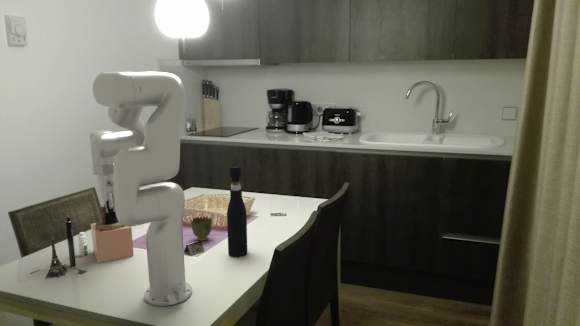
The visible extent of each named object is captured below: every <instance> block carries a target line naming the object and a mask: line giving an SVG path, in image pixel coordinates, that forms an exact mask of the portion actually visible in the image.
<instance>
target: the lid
mask: <svg viewBox="0 0 580 326" xmlns="http://www.w3.org/2000/svg"><path fill="white" fill-rule="evenodd" d="M107 207H108V206H107ZM105 213H106V210H105V207H104V206H100V215H101V216H100V217H101V220H99V221H96V222H95V223H96V229H98V230H101V231H103V230H114V229H118V228H121V227H123V225H122V224H120V222H119V221H118V219H117V217H116V223H114V224H108V225H107V224H106V220H105Z"/></svg>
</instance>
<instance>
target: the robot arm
mask: <svg viewBox="0 0 580 326" xmlns="http://www.w3.org/2000/svg"><path fill="white" fill-rule="evenodd" d="M92 94H93V97H94V100H95V102H96V103H97V104H99V105H101V106H104V107H108V110H107V113H108V115H107V116H108V118H109V119H110V121H111V122H112V123H113V124H114V125H116V126H118V127H120V128H124V129H125V130H121V131H119V130H118V131H113V130H109V129H99V130H98V129H97V130H93V131H92V132H91V133H90V134H89V144H90V153H91V154H90V155H91V162H92V165H91V166H92V172H93V175H95V176H97V186H98V195H99V199H100V201H101V203H102V205H103V206H102V207H105V210H106V213H105V220H106V224H107V225H108V224H114V223H116V217H117V219H118V221H119V222H120V224H122V225H123V226H127V227H131V228H132V227H136V226H141V225H145V224H149V226H148V228H147V230H146V235H145V242H146V243H145V245H146V256H147V257H146V258H147V268H148V269H147V270H148V282H149V287H148V288H147V289H145V291H144V293H143V297H144V301H145V302H146V303H148V304H149V305H152V306H156V307H158V306H160V307H165V306H166V307H167V306H172V305H177V304H179V303H182V302H184V301H186V300H187V299H188V298H190V296H191V295H192V293H193V288H192V286H191V284H190V283H188V282H187V281H186V268H185V267H186V266H185V249H184V230H183V229H184V228H183V225H184V224H183V222H184V211H185V204H186V203H185V202H186V196H185V192H184V190H183V188H182V187H181V185H179V184H178V183H175V182H172V181H167V180H170V179H172V178H175V177H176V176H177V175H178V173H179V169H180V163H181V159H180V158H181V157H180V156H181V127H182V122H183V117H184V113H185V110H186V105H187V104H186V103H187V96H186V95H187V93H186V89H185V86H184V83H183V81H182V80H181V78H180V77H179V76H177V75H176V74H174V73H170V72H164V71H103V72H100V73H99V74H97V75H96V77H95V79H94V81H93V84H92ZM145 107H157V108H155V110H154V111H153V112H152V113H151V115H150V116H149V117H148V120H147V122H146V124H145V122H144V120H143V119H142V117H141V115H142V112H143V110H144V108H145ZM161 181H162V182H161ZM145 184H146V185H145ZM107 206H108V207H107Z"/></svg>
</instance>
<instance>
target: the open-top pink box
mask: <svg viewBox="0 0 580 326" xmlns="http://www.w3.org/2000/svg"><path fill="white" fill-rule="evenodd" d="M96 223H97V222H93V223H91V224H90V229H91V241H92V249H93V253H94V256H95V259H96V262H97V263H98V264H101V263H105V262H110V261H115V260H119V259H120V260H121V259H125V258H130V257H134V256H135V254H134V245H133V244H134V243H133V233H132V232H133V231H132V230H133V229H132V227H127V226H123V227H121V228H118V229H114V230H103V231H101V230H98V229H96Z"/></svg>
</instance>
